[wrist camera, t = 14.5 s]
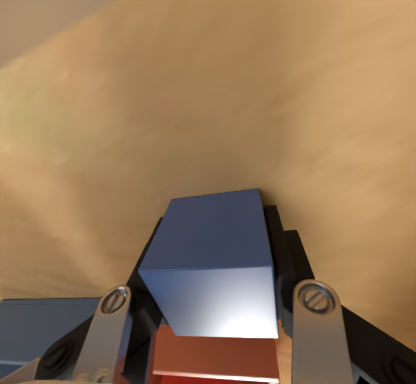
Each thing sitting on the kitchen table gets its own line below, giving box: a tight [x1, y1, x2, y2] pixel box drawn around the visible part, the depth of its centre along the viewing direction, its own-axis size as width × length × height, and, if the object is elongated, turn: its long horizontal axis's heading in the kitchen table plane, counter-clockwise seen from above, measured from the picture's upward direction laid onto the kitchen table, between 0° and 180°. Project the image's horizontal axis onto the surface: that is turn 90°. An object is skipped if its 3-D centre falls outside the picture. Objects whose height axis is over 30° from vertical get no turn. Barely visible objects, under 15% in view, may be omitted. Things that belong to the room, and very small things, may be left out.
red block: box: [161, 375, 236, 384], centre depth 16 cm, size 4×4×4 cm
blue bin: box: [0, 298, 101, 380], centre depth 19 cm, size 11×11×4 cm
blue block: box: [138, 189, 279, 338], centre depth 9 cm, size 4×4×4 cm
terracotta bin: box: [152, 325, 280, 384], centre depth 16 cm, size 11×11×4 cm
